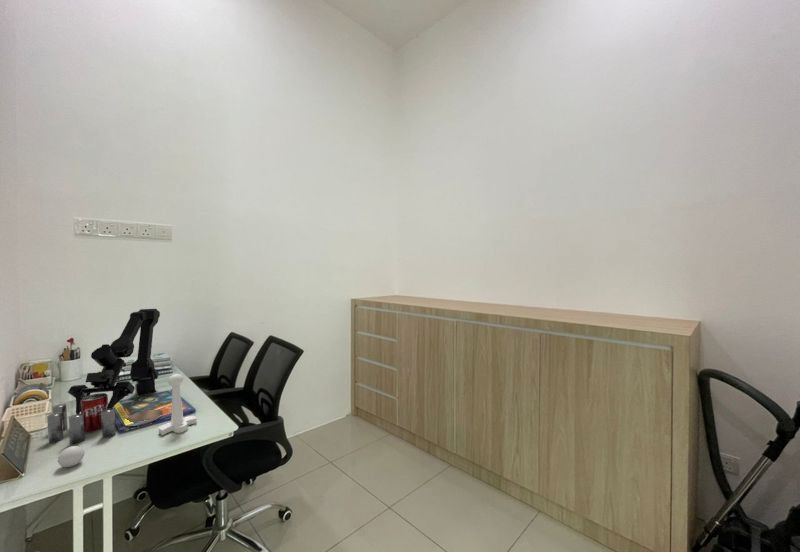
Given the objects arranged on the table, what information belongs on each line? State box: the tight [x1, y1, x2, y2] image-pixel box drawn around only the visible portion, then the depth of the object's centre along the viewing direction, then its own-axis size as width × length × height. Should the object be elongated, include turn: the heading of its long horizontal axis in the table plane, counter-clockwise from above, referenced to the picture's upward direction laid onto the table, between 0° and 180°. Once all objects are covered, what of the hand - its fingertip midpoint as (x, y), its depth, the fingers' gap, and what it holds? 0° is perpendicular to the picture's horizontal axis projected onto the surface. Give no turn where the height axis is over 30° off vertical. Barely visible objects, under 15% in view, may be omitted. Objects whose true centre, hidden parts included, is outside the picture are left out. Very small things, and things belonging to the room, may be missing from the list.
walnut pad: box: [125, 409, 164, 422], centre depth 125 cm, size 12×12×1 cm
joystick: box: [158, 373, 198, 436], centre depth 117 cm, size 11×8×20 cm
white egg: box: [51, 445, 85, 468], centre depth 96 cm, size 8×6×6 cm
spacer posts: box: [46, 403, 117, 446], centre depth 112 cm, size 9×25×9 cm, turn 79°
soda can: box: [80, 392, 109, 434], centre depth 118 cm, size 7×7×12 cm
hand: (92, 412), depth 117 cm, fingers open, 9 cm apart
